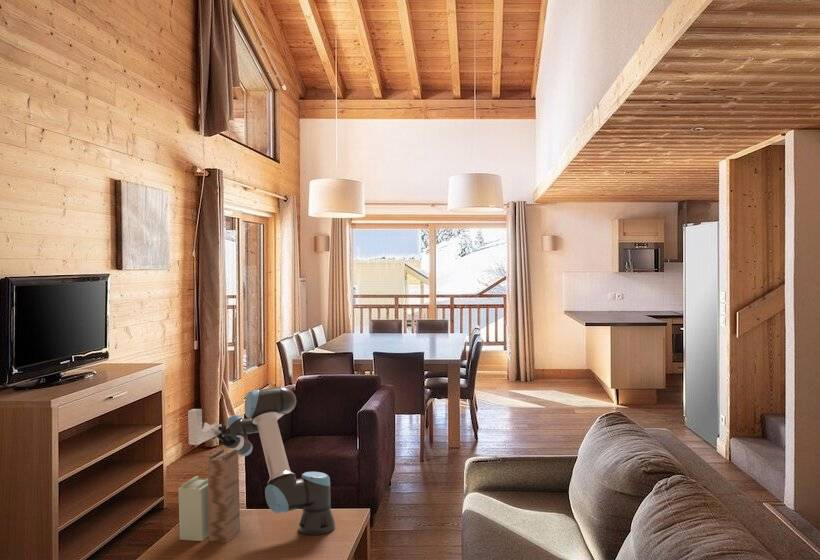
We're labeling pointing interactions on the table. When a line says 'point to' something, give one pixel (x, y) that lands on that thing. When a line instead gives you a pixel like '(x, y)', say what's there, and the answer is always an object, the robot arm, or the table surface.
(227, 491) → the walnut stand
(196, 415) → the stepped metal block
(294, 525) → the table surface
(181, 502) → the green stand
